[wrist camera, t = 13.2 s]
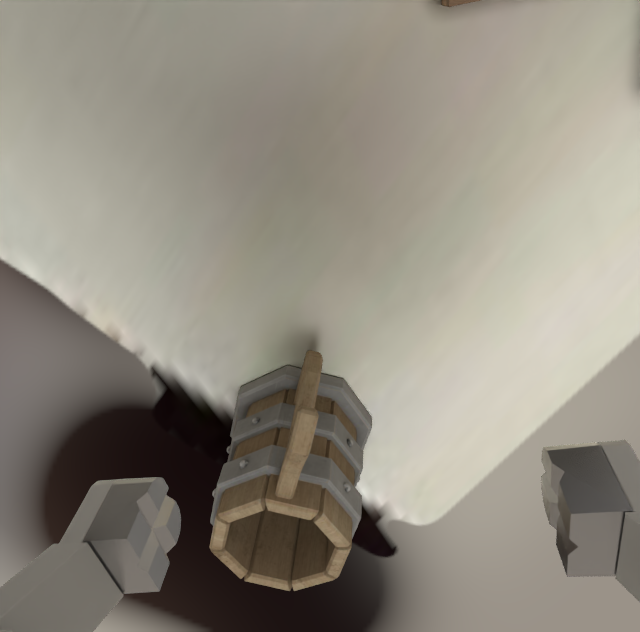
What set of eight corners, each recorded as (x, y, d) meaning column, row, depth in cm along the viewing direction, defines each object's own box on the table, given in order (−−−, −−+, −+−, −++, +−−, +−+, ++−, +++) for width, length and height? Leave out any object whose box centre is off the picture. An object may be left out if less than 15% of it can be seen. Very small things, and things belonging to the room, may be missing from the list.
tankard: (348, 478, 55) (339, 625, 42) (229, 450, 54) (183, 591, 42) (408, 320, 44) (420, 454, 32) (260, 284, 44) (212, 406, 31)
